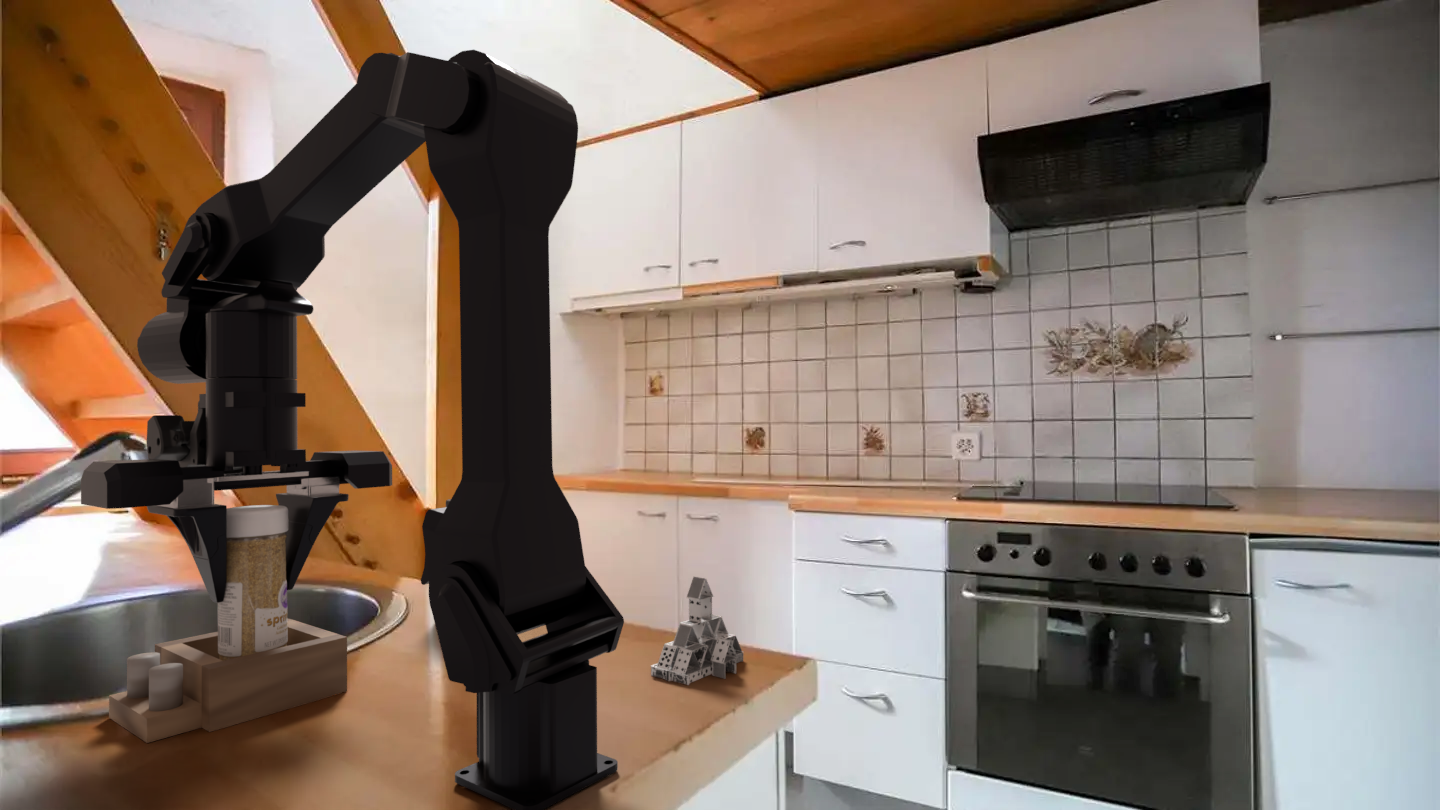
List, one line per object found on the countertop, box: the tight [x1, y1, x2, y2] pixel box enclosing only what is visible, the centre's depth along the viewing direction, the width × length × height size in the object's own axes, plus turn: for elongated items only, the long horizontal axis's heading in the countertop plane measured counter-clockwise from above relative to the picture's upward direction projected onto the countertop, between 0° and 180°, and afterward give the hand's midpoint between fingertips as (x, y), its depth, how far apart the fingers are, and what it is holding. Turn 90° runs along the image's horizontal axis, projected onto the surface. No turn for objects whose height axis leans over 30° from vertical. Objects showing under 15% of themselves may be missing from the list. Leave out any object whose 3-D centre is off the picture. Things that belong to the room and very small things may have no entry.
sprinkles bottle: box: [217, 504, 289, 661], centre depth 57 cm, size 5×5×14 cm
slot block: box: [108, 617, 348, 744], centre depth 56 cm, size 10×12×4 cm
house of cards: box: [650, 576, 744, 686], centre depth 60 cm, size 9×9×8 cm
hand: (253, 595), depth 57 cm, fingers closed on sprinkles bottle, 4 cm apart
